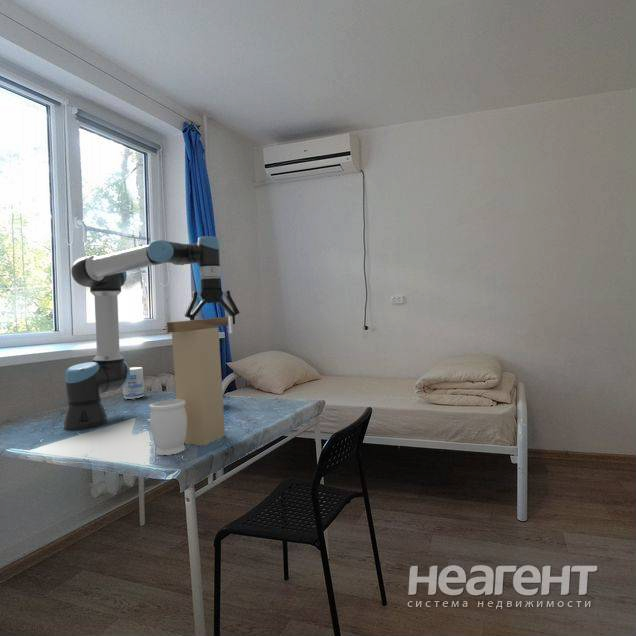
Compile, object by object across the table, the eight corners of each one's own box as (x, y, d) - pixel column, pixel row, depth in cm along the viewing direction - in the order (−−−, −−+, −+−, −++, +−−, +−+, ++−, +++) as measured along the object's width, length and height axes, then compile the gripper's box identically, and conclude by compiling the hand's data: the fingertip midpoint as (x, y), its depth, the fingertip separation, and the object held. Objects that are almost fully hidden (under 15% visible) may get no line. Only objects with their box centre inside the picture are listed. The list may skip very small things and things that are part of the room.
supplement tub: (129, 400, 227) (127, 370, 227) (120, 399, 234) (118, 369, 233) (148, 397, 235) (146, 367, 234) (138, 395, 241) (136, 366, 240)
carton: (179, 443, 152) (171, 331, 151) (200, 433, 162) (193, 328, 161) (205, 445, 148) (197, 330, 147) (225, 435, 158) (218, 327, 157)
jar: (158, 460, 137) (155, 408, 136) (148, 451, 145) (144, 403, 145) (194, 451, 143) (191, 401, 143) (182, 444, 152) (178, 397, 151)
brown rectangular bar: (167, 332, 145) (166, 322, 144) (218, 325, 169) (218, 317, 169) (178, 332, 143) (177, 322, 143) (228, 325, 168) (227, 317, 168)
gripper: (178, 278, 169) (182, 337, 170) (245, 276, 181) (248, 332, 182) (174, 279, 176) (177, 336, 177) (239, 278, 188) (242, 331, 189)
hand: (213, 334), depth 180 cm, fingers open, 13 cm apart
